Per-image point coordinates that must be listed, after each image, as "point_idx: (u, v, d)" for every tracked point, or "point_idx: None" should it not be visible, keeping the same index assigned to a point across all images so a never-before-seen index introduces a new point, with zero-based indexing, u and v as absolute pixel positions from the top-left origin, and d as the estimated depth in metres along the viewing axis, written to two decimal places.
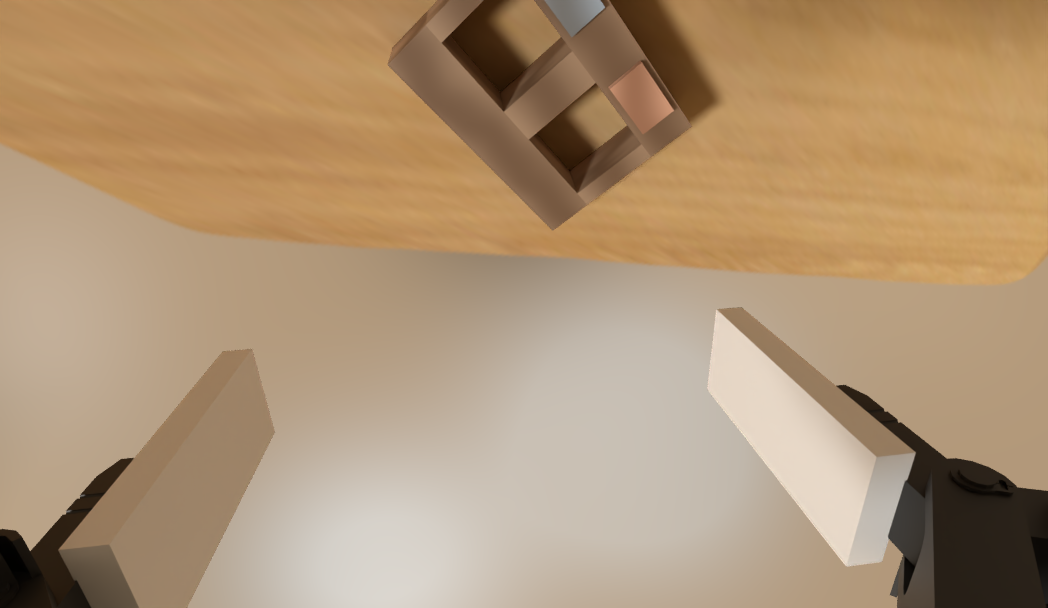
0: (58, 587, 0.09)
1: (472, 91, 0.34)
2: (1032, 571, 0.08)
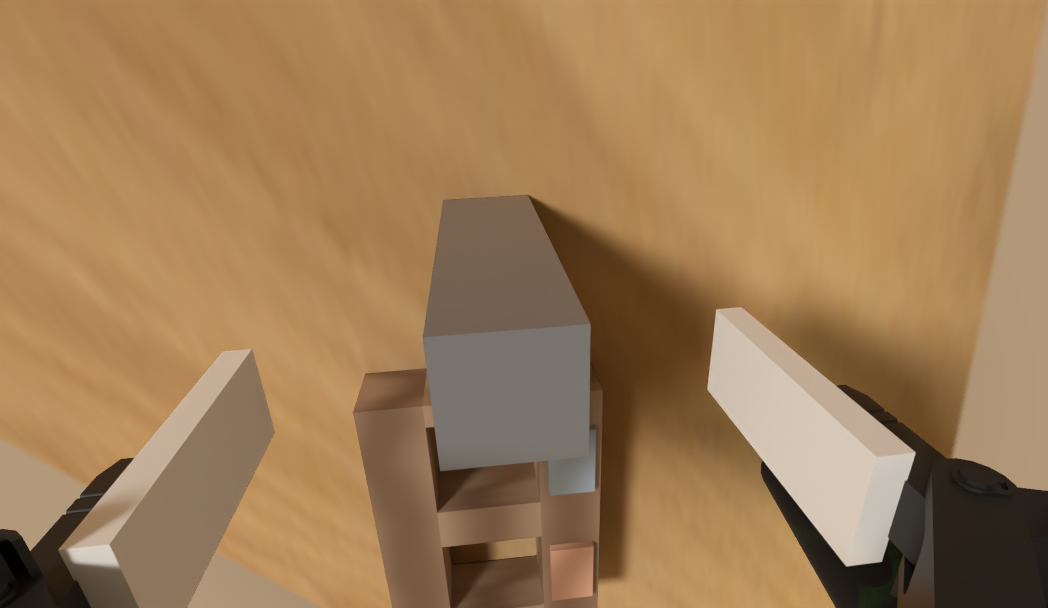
0: (58, 587, 0.09)
1: (420, 480, 0.28)
2: (1032, 571, 0.08)
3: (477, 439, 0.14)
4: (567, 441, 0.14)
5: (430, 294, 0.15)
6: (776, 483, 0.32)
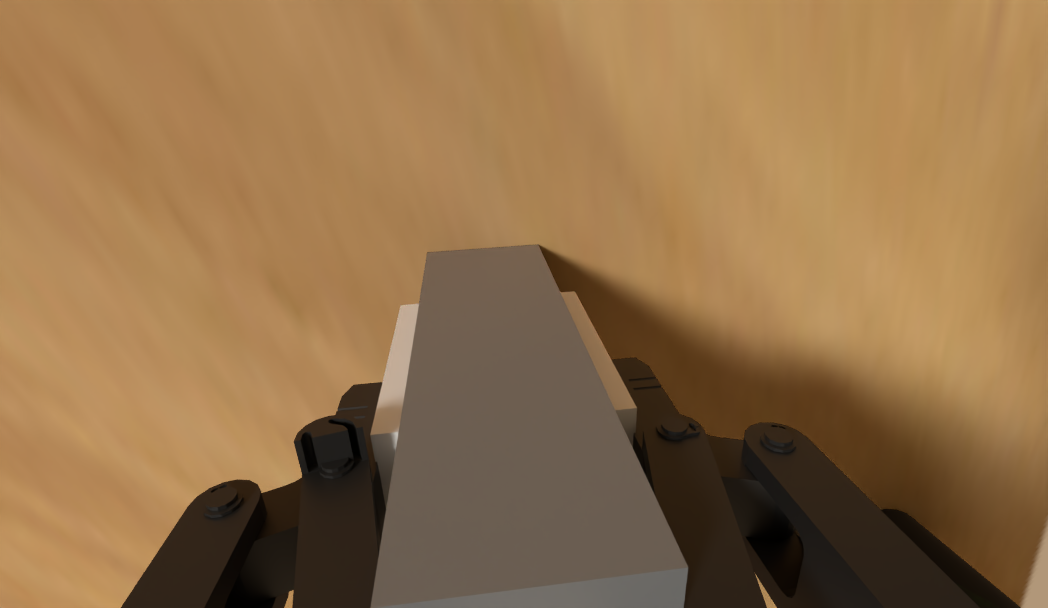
0: None
1: None
2: (723, 495, 0.09)
3: None
4: None
5: (395, 465, 0.09)
6: None
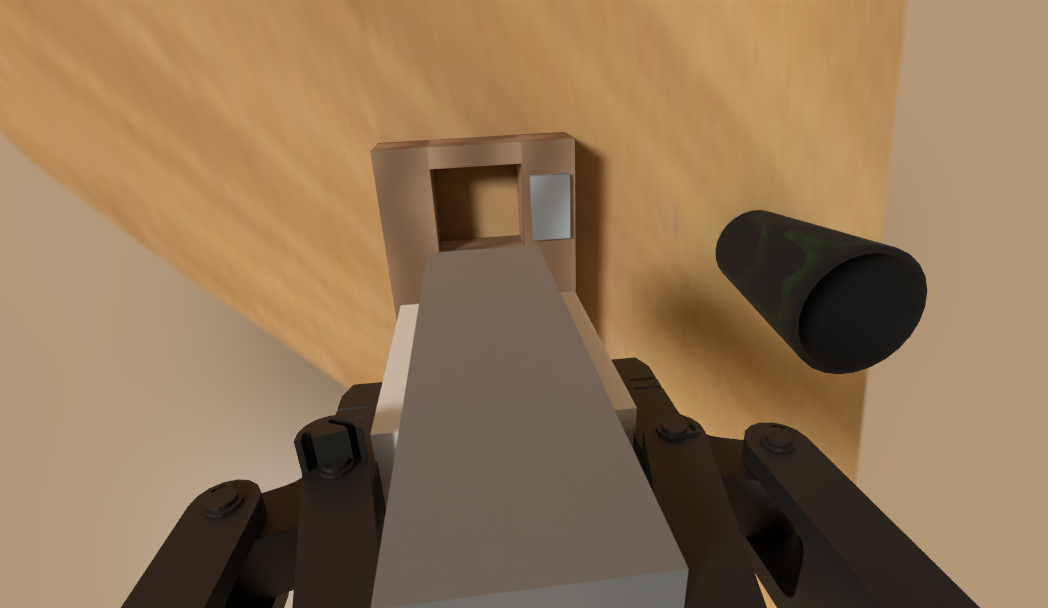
0: None
1: (425, 223, 0.33)
2: (723, 496, 0.09)
3: None
4: None
5: (395, 466, 0.09)
6: (726, 254, 0.38)
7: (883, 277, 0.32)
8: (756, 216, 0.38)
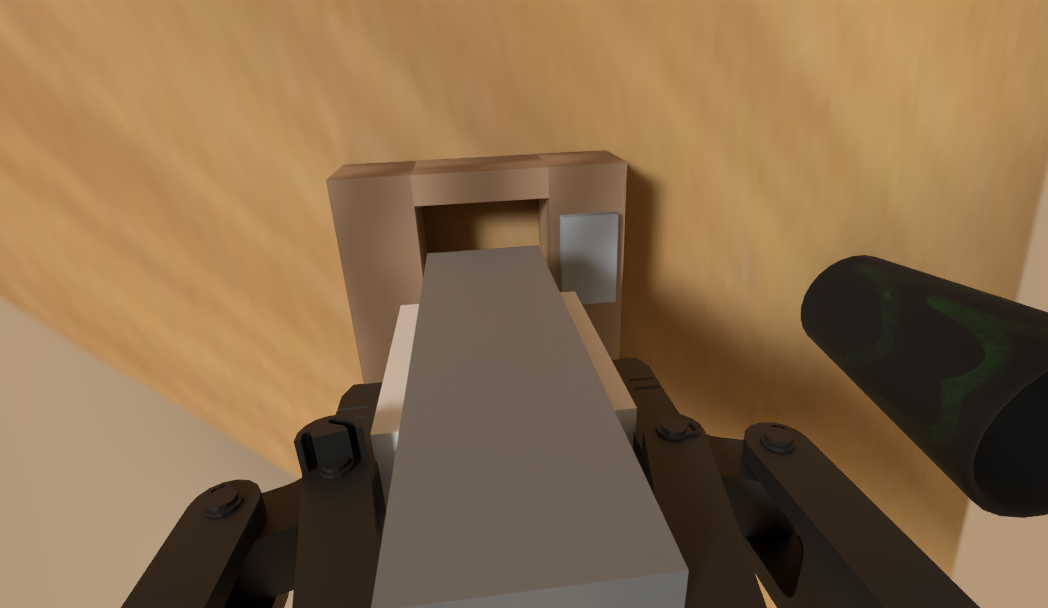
0: None
1: (409, 281, 0.23)
2: (723, 496, 0.09)
3: None
4: None
5: (395, 467, 0.09)
6: (821, 317, 0.28)
7: None
8: (864, 266, 0.27)
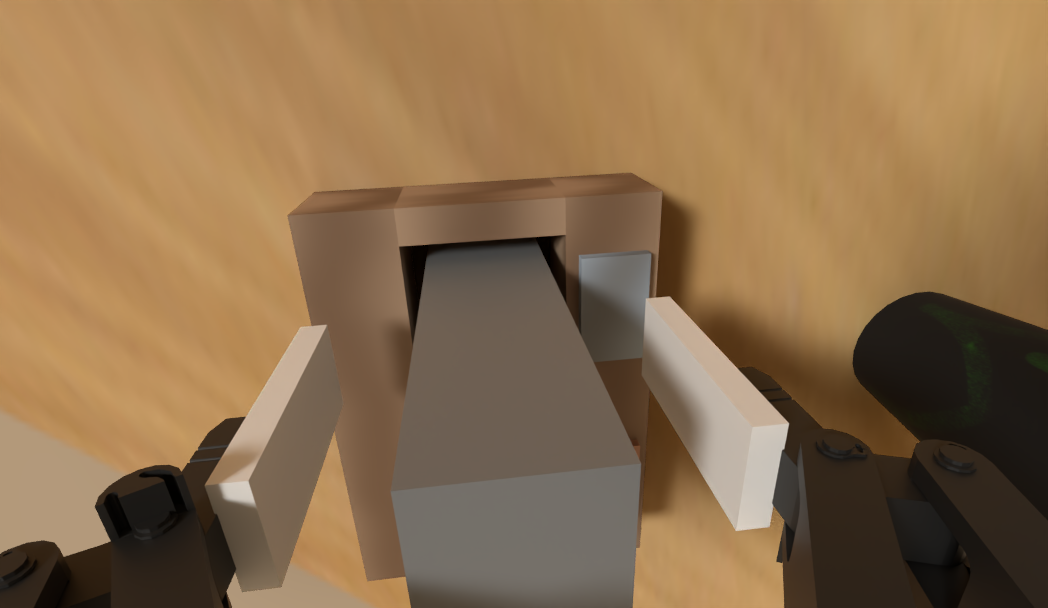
0: (201, 519, 0.10)
1: (393, 336, 0.19)
2: (888, 524, 0.08)
3: None
4: None
5: (406, 398, 0.11)
6: (882, 366, 0.24)
7: None
8: (933, 307, 0.23)
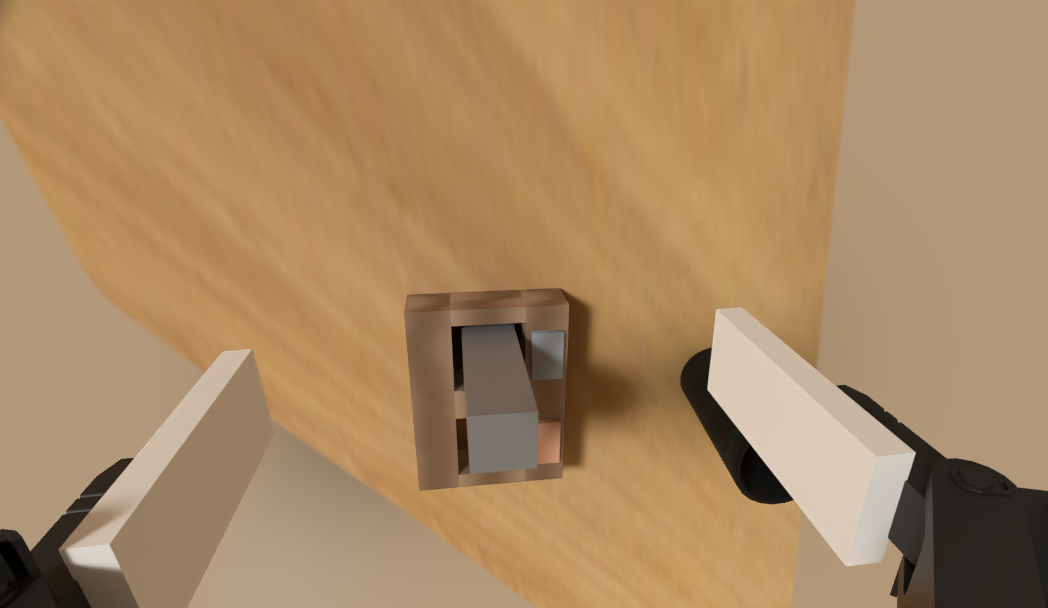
0: (58, 587, 0.09)
1: (445, 365, 0.41)
2: (1032, 571, 0.08)
3: (487, 459, 0.32)
4: (527, 461, 0.32)
5: (466, 392, 0.33)
6: (688, 386, 0.46)
7: None
8: None
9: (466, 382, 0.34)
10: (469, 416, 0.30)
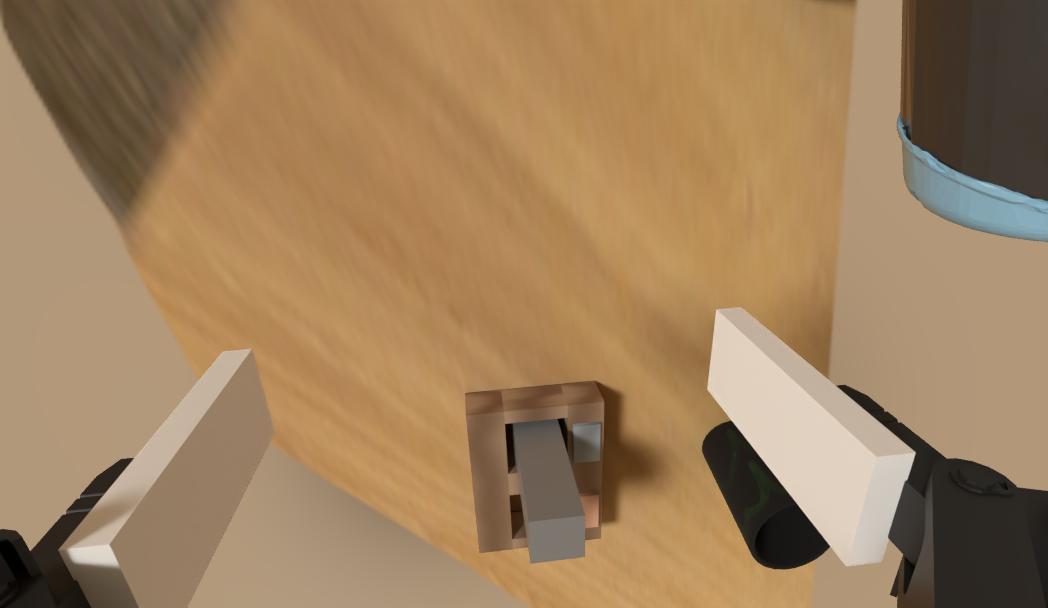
0: (58, 587, 0.09)
1: (500, 454, 0.48)
2: (1032, 571, 0.08)
3: (544, 552, 0.39)
4: (577, 552, 0.39)
5: (524, 495, 0.40)
6: (709, 457, 0.53)
7: None
8: (730, 431, 0.52)
9: (523, 484, 0.41)
10: (530, 521, 0.38)
